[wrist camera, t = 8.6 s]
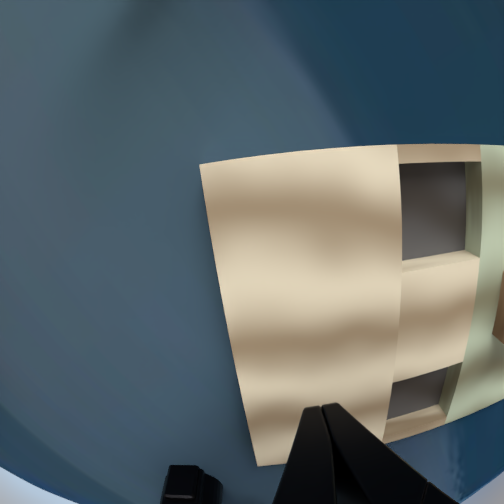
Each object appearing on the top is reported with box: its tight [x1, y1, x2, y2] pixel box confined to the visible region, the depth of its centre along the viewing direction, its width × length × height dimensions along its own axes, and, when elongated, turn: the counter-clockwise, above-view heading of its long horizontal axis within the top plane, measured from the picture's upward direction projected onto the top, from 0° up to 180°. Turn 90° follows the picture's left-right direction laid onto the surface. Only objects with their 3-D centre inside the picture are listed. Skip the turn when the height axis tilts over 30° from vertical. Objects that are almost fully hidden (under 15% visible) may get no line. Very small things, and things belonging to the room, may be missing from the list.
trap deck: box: [200, 144, 504, 466], centre depth 19 cm, size 22×26×2 cm
